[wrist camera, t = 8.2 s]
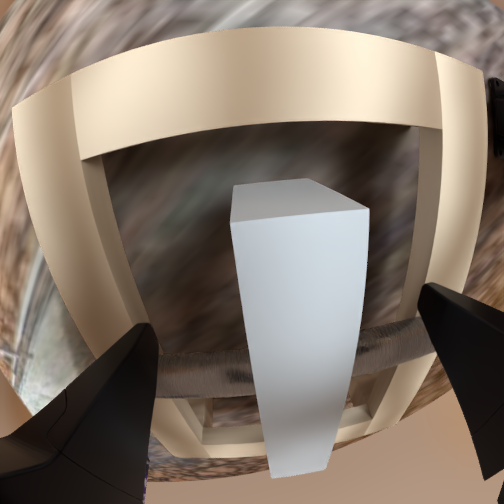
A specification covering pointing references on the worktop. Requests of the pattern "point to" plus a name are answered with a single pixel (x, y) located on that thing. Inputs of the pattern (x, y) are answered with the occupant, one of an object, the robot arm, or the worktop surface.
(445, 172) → the shelf
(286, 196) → the long white beam
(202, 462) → the worktop surface
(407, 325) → the rod
